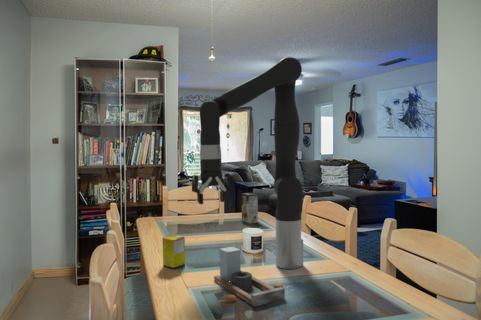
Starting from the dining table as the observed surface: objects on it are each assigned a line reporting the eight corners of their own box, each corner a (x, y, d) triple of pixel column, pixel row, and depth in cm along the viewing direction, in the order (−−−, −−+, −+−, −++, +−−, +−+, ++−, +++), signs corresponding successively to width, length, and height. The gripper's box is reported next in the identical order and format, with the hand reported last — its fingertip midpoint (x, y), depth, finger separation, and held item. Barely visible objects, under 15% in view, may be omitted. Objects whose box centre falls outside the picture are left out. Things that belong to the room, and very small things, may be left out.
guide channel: (253, 272, 137) (253, 263, 137) (297, 295, 116) (297, 285, 116) (201, 283, 127) (200, 274, 127) (239, 310, 106) (239, 299, 106)
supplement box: (174, 262, 149) (174, 234, 149) (185, 265, 146) (185, 236, 145) (162, 266, 145) (161, 237, 144) (173, 270, 141) (172, 239, 141)
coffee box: (241, 220, 229) (240, 193, 229) (251, 219, 232) (250, 192, 231) (248, 223, 221) (247, 195, 220) (258, 222, 224) (258, 194, 223)
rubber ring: (245, 281, 129) (244, 270, 128) (254, 286, 123) (254, 275, 123) (228, 284, 126) (228, 273, 125) (238, 290, 120) (238, 279, 120)
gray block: (233, 275, 134) (232, 246, 134) (240, 279, 130) (240, 249, 130) (220, 278, 132) (219, 248, 131) (227, 282, 128) (226, 252, 127)
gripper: (223, 156, 147) (224, 199, 147) (188, 158, 140) (189, 203, 140) (233, 157, 140) (234, 202, 141) (196, 158, 133) (198, 206, 134)
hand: (211, 202), depth 141 cm, fingers open, 8 cm apart
